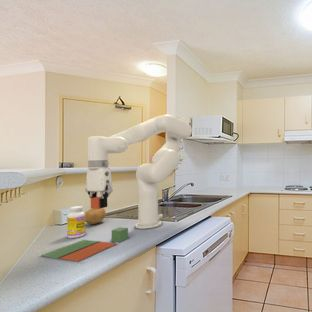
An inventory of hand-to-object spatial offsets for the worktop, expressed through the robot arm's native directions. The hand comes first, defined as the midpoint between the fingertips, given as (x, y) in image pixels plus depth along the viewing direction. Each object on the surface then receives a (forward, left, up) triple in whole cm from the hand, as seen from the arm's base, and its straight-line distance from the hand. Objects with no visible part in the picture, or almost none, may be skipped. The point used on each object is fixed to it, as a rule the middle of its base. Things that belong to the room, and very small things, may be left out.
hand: (99, 206), depth 100 cm
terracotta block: (0, 0, 0) cm, 0 cm away
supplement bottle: (0, -13, -14) cm, 19 cm away
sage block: (-1, +10, -14) cm, 17 cm away
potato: (-18, -23, -14) cm, 32 cm away
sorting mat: (+12, +5, -13) cm, 19 cm away
